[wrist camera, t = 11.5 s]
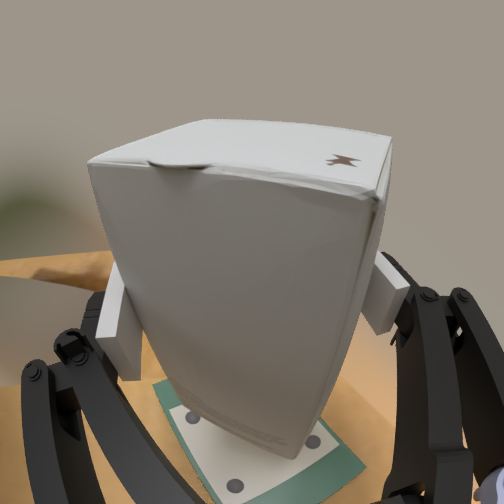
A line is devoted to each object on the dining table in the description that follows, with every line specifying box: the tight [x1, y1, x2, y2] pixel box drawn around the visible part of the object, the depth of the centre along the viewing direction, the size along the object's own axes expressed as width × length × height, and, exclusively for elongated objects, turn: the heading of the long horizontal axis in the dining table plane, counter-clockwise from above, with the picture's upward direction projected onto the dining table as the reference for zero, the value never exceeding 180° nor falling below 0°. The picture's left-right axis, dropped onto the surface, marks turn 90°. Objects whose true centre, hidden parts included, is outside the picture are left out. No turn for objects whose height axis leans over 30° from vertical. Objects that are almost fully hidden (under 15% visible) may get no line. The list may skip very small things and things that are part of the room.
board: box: [153, 379, 367, 504], centre depth 21 cm, size 18×12×2 cm, turn 31°
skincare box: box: [87, 119, 393, 460], centre depth 12 cm, size 8×7×16 cm
